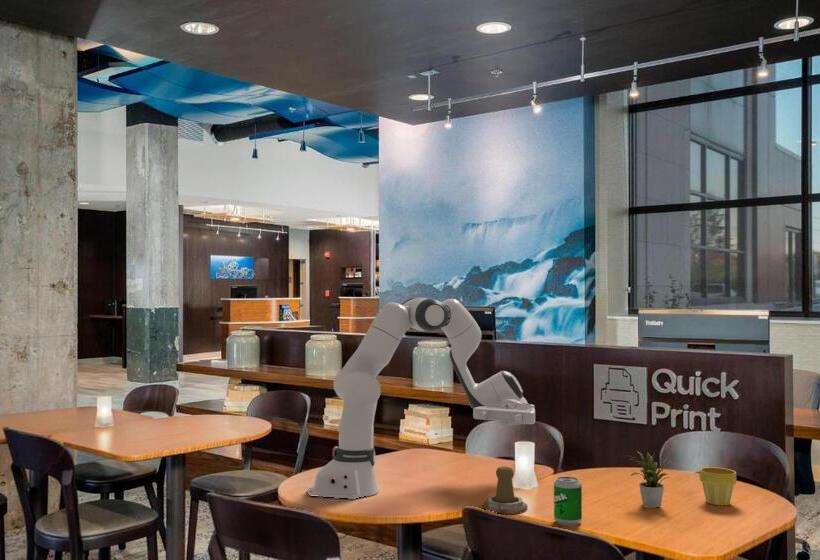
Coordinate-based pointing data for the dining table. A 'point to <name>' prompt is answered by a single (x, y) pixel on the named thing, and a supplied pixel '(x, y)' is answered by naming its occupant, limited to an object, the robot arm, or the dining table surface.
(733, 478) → the plant pot
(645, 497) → the house plant
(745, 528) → the dining table surface
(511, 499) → the cork
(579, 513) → the soda can
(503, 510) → the grey octagonal ring
